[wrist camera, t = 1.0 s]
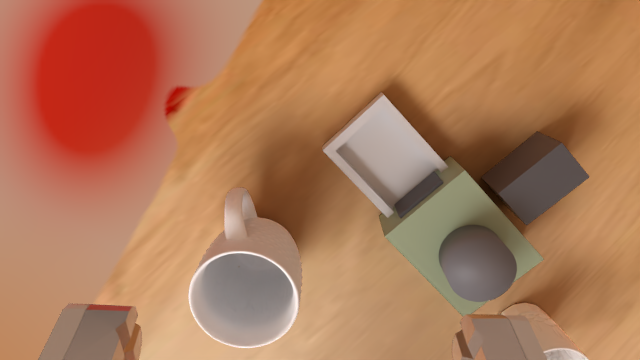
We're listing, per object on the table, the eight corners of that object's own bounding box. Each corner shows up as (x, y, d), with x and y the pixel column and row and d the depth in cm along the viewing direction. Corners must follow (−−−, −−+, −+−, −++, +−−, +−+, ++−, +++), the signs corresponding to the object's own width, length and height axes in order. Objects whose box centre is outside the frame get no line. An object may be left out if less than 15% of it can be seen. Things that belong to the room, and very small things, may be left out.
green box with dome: (522, 237, 57) (561, 277, 48) (451, 291, 60) (475, 340, 50) (388, 85, 52) (401, 97, 43) (316, 151, 54) (314, 176, 45)
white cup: (477, 328, 61) (505, 382, 52) (522, 286, 59) (559, 335, 50) (519, 360, 63) (554, 419, 53) (564, 321, 61) (609, 374, 51)
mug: (199, 180, 56) (162, 222, 43) (290, 164, 55) (279, 203, 43) (228, 289, 60) (203, 356, 48) (313, 276, 59) (309, 341, 47)
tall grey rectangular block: (562, 162, 55) (589, 177, 49) (506, 206, 56) (526, 225, 51) (536, 131, 54) (561, 142, 48) (480, 176, 55) (498, 193, 50)
